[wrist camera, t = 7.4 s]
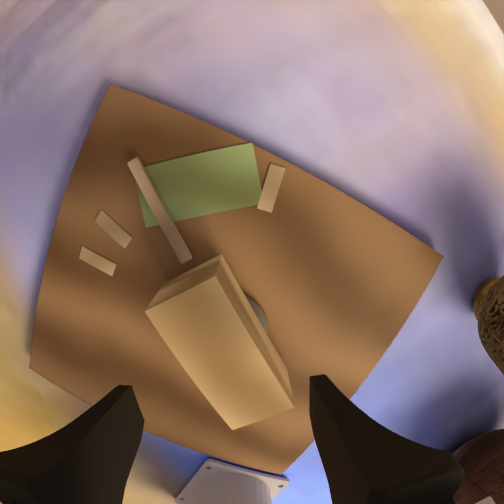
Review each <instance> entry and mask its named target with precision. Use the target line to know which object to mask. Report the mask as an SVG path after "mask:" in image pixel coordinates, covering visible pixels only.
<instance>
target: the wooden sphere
mask: <svg viewBox="0 0 504 504" xmlns="http://www.w3.org/2000/svg"><path fill="white" fill-rule="evenodd" d="M452 455H453V456H454V457H455V459H456V460H457V461H458V463H459V464H460V466H461V467H462V469H463V471H464V472H465V477H464V479H463V481H462V484H461V485H460V487H459V489H458V490H457V492H456V493H455V495H454V496H453V500H454V502H455V503H456V504H475V503H477V502H479V501H481V500H483V499H485V498H487V497H491V498H492V499H493V501H494V502H495V504H504V429H499V430H494V431H490V432H487V433H484V434H481V435H479V436H477V437H475V438H473V439H471V440H470V441H468V442H466V443H465V444H463V445H462V446H461V447H459V448H458V449H457V450H456V451H454V452H453V453H452Z"/></svg>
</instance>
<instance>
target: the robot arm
mask: <svg viewBox="0 0 504 504" xmlns="http://www.w3.org/2000/svg"><path fill="white" fill-rule="evenodd" d="M309 415H310V420H311V426H312V431H313V435H314V439H315V442H316V445H317V448H318V451H319V454H320V457H321V460H322V463H323V466H324V470H325V473H326V476H327V479H328V483H329V488H330V493H331V499H332V504H456V503H455V502H454V500H453V496H454V495H455V493H456V492H457V490H458V489H459V487H460V485H461V484H462V481H463V479H464V477H465V472H464V471H463V469H462V467H461V466H460V464H459V463H458V461H457V460H456V459H455V457H454V456H453V455H452V454H451V453H450V452H446V451H442V450H438V449H434V448H431V447H427V446H424V445H422V444H419V443H416V442H413V441H411V440H409V439H406V438H404V437H402V436H400V435H398V434H396V433H394V432H392V431H390V430H389V429H387V428H385V427H384V426H382V425H380V424H379V423H377V422H376V421H375V420H373V419H372V418H370V417H369V416H368V415H367V414H365V413H364V412H363V411H362V410H360V409H359V408H358V407H357V406H356V405H355V404H354V403H352V402H351V401H350V400H349V399H348V398H347V397H346V396H345V395H344V394H343V393H342V392H341V391H340V390H339V389H338V388H337V387H336V386H335V384H334V383H333V382H332V381H331V380H330V379H329V378H328V376H327V375H325V374H322V375H315V376H309ZM144 421H145V420H144V418H143V415H142V413H141V410H140V407H139V404H138V402H137V399H136V396H135V393H134V391H133V388H132V385H118V386H117V387H115V388H114V389H113V390H111V391H110V392H109V393H108V394H107V395H105V396H104V397H103V398H102V399H101V400H99V401H98V402H97V403H96V404H94V405H93V406H92V407H91V408H90V409H88V410H87V411H86V412H84V413H83V414H82V415H80V416H79V417H78V418H76V419H75V420H74V421H72V422H71V423H69V424H68V425H66V426H65V427H63V428H61V429H60V430H58V431H56V432H54V433H53V434H51V435H49V436H47V437H44V438H42V439H40V440H38V441H36V442H33V443H31V444H28V445H25V446H22V447H19V448H16V449H12V450H8V451H3V452H0V501H1V503H2V504H122V501H123V496H124V490H125V486H126V482H127V479H128V476H129V473H130V470H131V467H132V464H133V462H134V459H135V456H136V453H137V450H138V447H139V444H140V441H141V437H142V432H143V427H144ZM288 484H289V479H287V478H283V477H278V476H274V475H269V474H265V473H261V472H257V471H253V470H249V469H245V468H241V467H238V466H234V465H231V464H227V463H224V462H220V461H217V460H214V459H207V460H206V461H205V462H204V463H203V465H202V466H201V467H200V469H199V470H198V471H197V472H196V474H195V475H194V476H193V477H192V479H191V480H190V481H189V483H188V484H187V485H186V486H185V488H184V489H183V490H182V491H181V492H180V494H179V495H178V496H177V497H176V499H175V503H176V504H272V502H271V499H272V498H273V497H275V496H276V495H277V494H278V493H279V492H280V491H281V490H283V489H284V488H285V487H286V486H287V485H288ZM475 504H495V502H494V501H493V499H492V498H491V497H487V498H485V499H483V500H481V501H479V502H477V503H475Z"/></svg>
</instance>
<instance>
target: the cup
mask: <svg viewBox="0 0 504 504" xmlns="http://www.w3.org/2000/svg"><path fill="white" fill-rule="evenodd" d="M473 312H474V315H475V317H476V319H477V320H478V332H479V337H480V340H481V343H482V345H483V347H484V348H485V350H486V352H487V353H488V355H489V356H490V358H491V359H492V360H493V362H494V363H495V364H496V365H497V367H498V368H499V369H500V370H501V372H502V373H503V374H504V276H502V277H501V278H499V277H494V278H489V279H487V280H485V281H484V282H483V283H482V284H481V285H480V286H479V288H478V289H477V291H476V293H475V296H474V299H473Z"/></svg>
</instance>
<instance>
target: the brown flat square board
mask: <svg viewBox="0 0 504 504" xmlns="http://www.w3.org/2000/svg"><path fill="white" fill-rule="evenodd" d="M136 157H139V158H140V160H141V162H142V164H143V166H144V168H145V170H146V172H147V174H148V176H149V178H150V179H151V181H152V183H153V185H154V187H155V189H156V191H157V193H158V195H159V197H160V198H161V200H162V202H163V204H164V206H165V208H166V210H167V211H168V213H169V215H170V217H171V219H172V221H173V222H174V224H175V226H176V228H177V230H178V231H179V233H180V235H181V237H182V239H183V240H184V242H185V244H186V246H187V248H188V249H189V251H190V253H191V255H192V256H193V257H192V259H190V260H188V261H187V262H185V263H183V264H181V262H180V260H179V258H178V257H177V255H176V253H175V251H174V250H173V248H172V246H171V244H170V243H169V241H168V239H167V237H166V235H165V234H164V232H163V230H162V228H161V226H160V225H159V223H158V221H157V219H156V217H155V215H154V214H153V212H152V210H151V208H150V206H149V204H148V202H147V201H146V199H145V197H144V195H143V193H142V191H141V189H140V187H139V185H138V183H137V181H136V180H135V178H134V176H133V174H132V172H131V170H130V168H129V166H128V164H127V163H128V162H130V161H131V160H133V159H134V158H136ZM220 254H222V255H223V257H224V259H225V261H226V263H227V264H228V266H229V268H230V270H231V272H232V273H233V275H234V277H235V279H236V280H237V282H238V284H239V286H240V288H241V289H242V291H243V293H246V294H248V295H250V296H251V297H252V298H254V299H255V300H256V301H257V302H258V303H259V304H260V305H261V307H262V308H263V310H264V312H265V315H266V319H267V326H268V332H267V335H268V337H269V339H270V340H271V342H272V344H273V345H274V347H275V349H276V351H277V352H278V354H279V356H280V357H281V359H282V361H283V363H284V364H285V366H286V368H287V371H288V376H289V381H290V386H291V391H292V397H293V402H294V407H295V408H292V409H290V410H287V411H285V412H282V413H279V414H277V415H274V416H272V417H269V418H266V419H263V420H261V421H258V422H255V423H252V424H249V425H246V426H243V427H240V428H237V429H234V430H232V429H231V428H230V427H229V426H228V424H227V423H226V422H225V421H224V420H223V418H222V417H221V416H220V415H219V413H218V412H217V411H216V410H215V409H214V407H213V406H212V405H211V404H210V402H209V401H208V400H207V398H206V397H205V396H204V395H203V393H202V392H201V391H200V389H199V388H198V387H197V385H196V384H195V383H194V381H193V380H192V379H191V377H190V376H189V375H188V373H187V372H186V371H185V369H184V368H183V367H182V365H181V364H180V362H179V361H178V360H177V358H176V357H175V355H174V354H173V353H172V351H171V350H170V348H169V347H168V346H167V344H166V343H165V341H164V340H163V338H162V337H161V335H160V334H159V332H158V331H157V329H156V328H155V326H154V325H153V323H152V322H151V320H150V319H149V317H148V316H147V314H146V313H145V310H146V308H147V307H148V305H149V304H150V303H151V301H152V300H153V298H154V297H155V295H156V294H157V292H158V291H159V289H160V288H161V286H162V285H163V284H164V283H166V282H168V281H169V280H171V279H173V278H175V277H177V276H179V275H181V274H183V273H185V272H187V271H189V270H191V269H193V268H195V267H197V266H199V265H201V264H203V263H205V262H207V261H209V260H211V259H212V258H214V257H216V256H218V255H220ZM442 258H443V256H442V255H441V254H439V253H438V252H436V251H435V250H433V249H432V248H430V247H429V246H427V245H426V244H424V243H423V242H422V241H420V240H419V239H417V238H416V237H414V236H412V235H411V234H409V233H408V232H406V231H405V230H403V229H402V228H400V227H399V226H397V225H396V224H394V223H392V222H391V221H389V220H388V219H386V218H384V217H383V216H381V215H380V214H378V213H376V212H375V211H373V210H371V209H370V208H368V207H367V206H365V205H363V204H362V203H360V202H358V201H357V200H355V199H353V198H351V197H350V196H348V195H346V194H345V193H343V192H341V191H339V190H338V189H336V188H334V187H332V186H331V185H329V184H327V183H325V182H324V181H322V180H320V179H318V178H316V177H315V176H313V175H311V174H309V173H307V172H305V171H304V170H302V169H300V168H298V167H296V166H294V165H292V164H290V163H289V162H287V161H285V160H283V159H281V158H279V157H277V156H275V155H273V154H271V153H269V152H267V151H265V150H263V149H261V148H259V147H257V146H255V145H253V143H249V142H247V141H245V140H243V139H241V138H239V137H237V136H234V135H232V134H230V133H228V132H226V131H224V130H222V129H219V128H217V127H215V126H213V125H211V124H208V123H206V122H204V121H202V120H200V119H197V118H195V117H193V116H190V115H188V114H186V113H183V112H181V111H179V110H176V109H174V108H172V107H169V106H167V105H164V104H162V103H159V102H157V101H154V100H152V99H149V98H147V97H144V96H142V95H139V94H136V93H134V92H131V91H129V90H126V89H123V88H120V87H118V86H115V85H112V84H110V86H109V88H108V90H107V92H106V94H105V96H104V98H103V100H102V103H101V105H100V107H99V109H98V111H97V113H96V115H95V118H94V120H93V122H92V124H91V126H90V129H89V131H88V133H87V136H86V138H85V141H84V143H83V145H82V148H81V150H80V153H79V155H78V158H77V161H76V163H75V166H74V169H73V171H72V174H71V177H70V180H69V183H68V185H67V188H66V191H65V194H64V197H63V201H62V204H61V207H60V210H59V213H58V217H57V220H56V224H55V227H54V231H53V235H52V238H51V242H50V246H49V250H48V254H47V258H46V263H45V267H44V272H43V276H42V281H41V286H40V291H39V297H38V302H37V308H36V315H35V321H34V328H33V336H32V344H31V354H30V365H29V368H30V369H32V370H33V371H35V372H36V373H38V374H39V375H41V376H42V377H44V378H46V379H47V380H49V381H50V382H52V383H54V384H55V385H57V386H59V387H60V388H62V389H64V390H65V391H67V392H69V393H70V394H72V395H74V396H76V397H77V398H79V399H81V400H83V401H85V402H86V403H88V404H90V405H92V406H93V405H94V404H96V403H97V402H98V401H99V400H101V399H102V398H103V397H104V396H105V395H107V394H108V393H109V392H110V391H111V390H113V389H114V388H115V387H117V386H118V385H132V388H133V391H134V393H135V396H136V399H137V402H138V404H139V407H140V410H141V413H142V415H143V418H144V420H145V421H144V427H143V430H144V431H146V432H149V433H151V434H153V435H156V436H158V437H161V438H163V439H166V440H168V441H171V442H173V443H176V444H179V445H181V446H184V447H187V448H189V449H192V450H195V451H198V452H201V453H204V454H207V455H210V456H213V457H216V458H220V459H223V460H226V461H229V462H233V463H236V464H240V465H244V466H247V467H251V468H255V469H259V470H263V471H267V472H272V473H276V474H280V475H281V474H282V473H283V472H284V471H285V470H286V469H287V468H288V467H289V466H290V465H291V464H292V463H293V462H294V461H295V460H296V459H297V458H298V457H299V456H300V455H301V454H302V453H303V452H304V451H305V450H306V449H307V448H308V447H309V446H310V444H311V443H312V442H313V441H314V440H315V439H314V435H313V431H312V426H311V420H310V415H309V376H315V375H322V374H325V375H327V376H328V378H329V379H330V380H331V381H332V382H333V383H334V384H335V386H336V387H337V388H338V389H339V390H340V391H341V392H342V393H343V394H344V395H345V396H346V397H347V398H348V399H350V398H351V397H352V396H353V394H354V393H355V392H356V391H357V389H358V388H359V387H360V385H361V384H362V383H363V382H364V380H365V379H366V378H367V376H368V375H369V374H370V372H371V371H372V370H373V368H374V367H375V365H376V364H377V363H378V361H379V360H380V359H381V357H382V356H383V354H384V353H385V351H386V350H387V349H388V347H389V346H390V344H391V343H392V341H393V340H394V338H395V337H396V335H397V334H398V332H399V331H400V329H401V328H402V326H403V325H404V323H405V322H406V320H407V319H408V317H409V315H410V314H411V312H412V311H413V309H414V307H415V306H416V304H417V302H418V301H419V299H420V297H421V296H422V294H423V292H424V291H425V289H426V287H427V286H428V284H429V282H430V280H431V279H432V277H433V275H434V273H435V271H436V270H437V268H438V266H439V264H440V262H441V260H442Z"/></svg>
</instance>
